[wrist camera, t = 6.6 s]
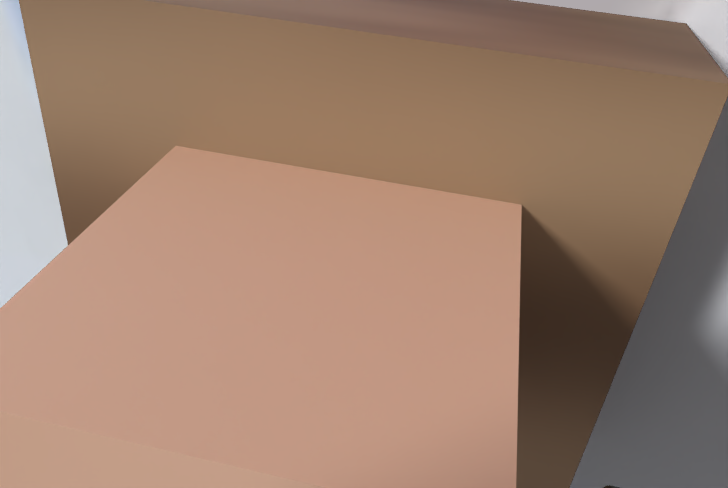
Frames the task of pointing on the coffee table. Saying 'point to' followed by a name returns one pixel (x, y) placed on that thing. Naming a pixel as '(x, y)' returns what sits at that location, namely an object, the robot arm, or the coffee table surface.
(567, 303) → the base slab
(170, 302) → the cube
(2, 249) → the coffee table surface
